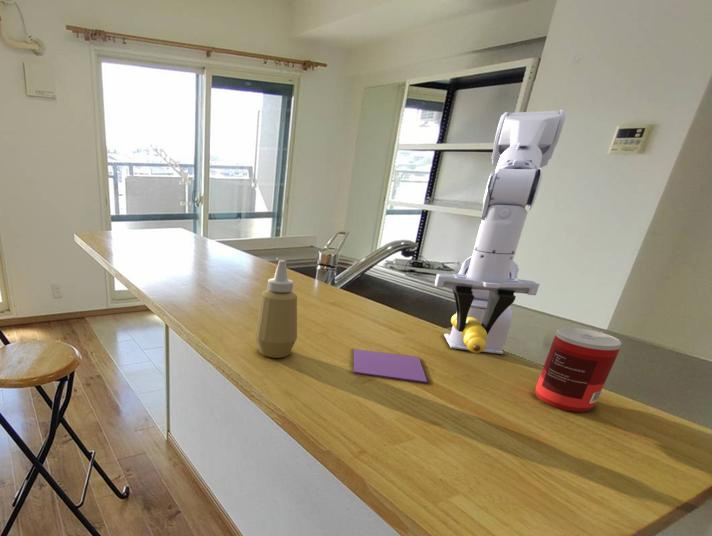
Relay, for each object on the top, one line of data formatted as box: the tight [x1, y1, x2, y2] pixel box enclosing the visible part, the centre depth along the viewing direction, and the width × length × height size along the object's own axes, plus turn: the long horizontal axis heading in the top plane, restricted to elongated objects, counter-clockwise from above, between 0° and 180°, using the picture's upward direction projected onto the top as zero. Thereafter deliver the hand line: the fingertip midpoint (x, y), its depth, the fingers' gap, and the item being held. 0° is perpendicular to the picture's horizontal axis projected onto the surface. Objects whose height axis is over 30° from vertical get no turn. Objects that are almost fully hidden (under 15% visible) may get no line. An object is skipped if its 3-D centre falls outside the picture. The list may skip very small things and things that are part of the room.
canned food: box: [535, 327, 622, 413], centre depth 66 cm, size 8×8×11 cm
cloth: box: [353, 348, 428, 384], centre depth 79 cm, size 12×11×1 cm
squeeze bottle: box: [254, 259, 298, 359], centre depth 80 cm, size 8×8×18 cm
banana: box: [450, 313, 487, 354], centre depth 73 cm, size 4×17×3 cm, turn 163°
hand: (471, 331), depth 73 cm, fingers closed on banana, 3 cm apart
